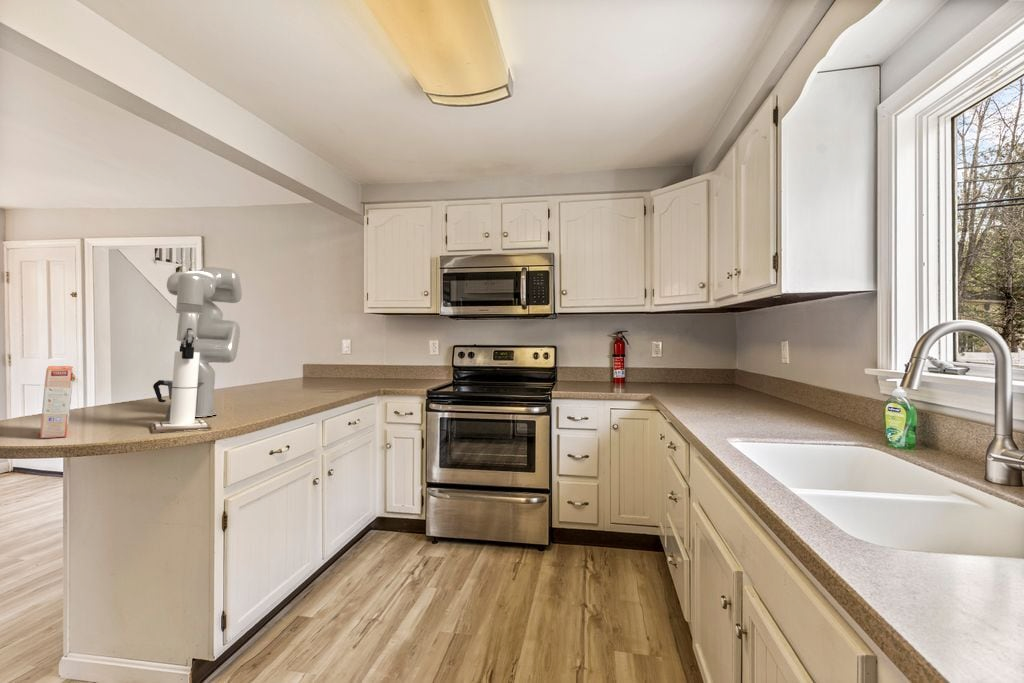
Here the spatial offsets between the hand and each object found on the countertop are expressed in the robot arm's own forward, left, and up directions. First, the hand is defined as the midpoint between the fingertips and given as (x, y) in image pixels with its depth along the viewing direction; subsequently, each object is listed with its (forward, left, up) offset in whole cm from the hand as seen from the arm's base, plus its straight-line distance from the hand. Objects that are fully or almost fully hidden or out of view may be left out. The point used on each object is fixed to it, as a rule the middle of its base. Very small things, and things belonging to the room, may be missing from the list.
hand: (186, 357), depth 158 cm
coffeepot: (-16, 0, -25) cm, 29 cm away
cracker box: (-1, -31, -25) cm, 40 cm away
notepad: (0, 0, -25) cm, 25 cm away
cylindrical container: (0, 0, -23) cm, 23 cm away
